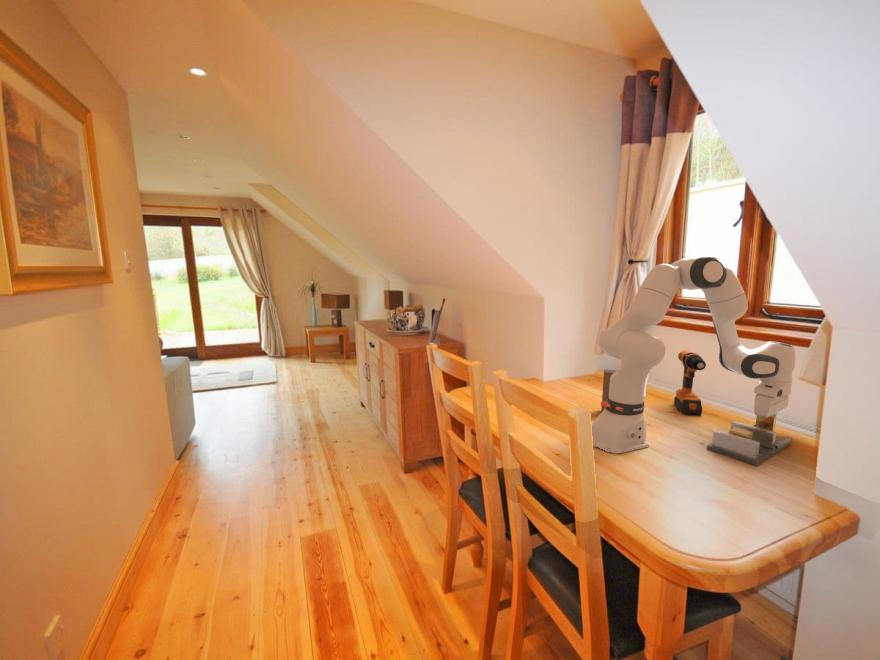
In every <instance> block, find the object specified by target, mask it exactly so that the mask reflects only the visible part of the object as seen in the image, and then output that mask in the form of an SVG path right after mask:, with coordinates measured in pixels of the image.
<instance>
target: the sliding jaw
mask: <svg viewBox="0 0 880 660" xmlns="http://www.w3.org/2000/svg"><path fill="white" fill-rule="evenodd" d="M776 423H777V416H776V417H773V416H769V417H768V418H763V417H759V416H756V420H755V424H754V425H751V424H748V423H744V422H740V421H737V420H733V421H731V422H730V429H732V428H734V427H737V428H740V429H744V430H747V431H751V432H753V436H752V440H753V441H757V442H760V445H761V446H764V447H768V448H771V449H772V448H773V447H774V446H775V439H776V436H777V432H776Z"/></svg>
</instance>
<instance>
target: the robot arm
mask: <svg viewBox="0 0 880 660" xmlns="http://www.w3.org/2000/svg"><path fill="white" fill-rule="evenodd" d="M678 290H688V291H690V290H691V291H693V290H701V291H702V292H703V294H704V297H705V300H706V303H707V305H708V308H709V312H710V314H711V318H712V323H713V327H714V332H715V334H716V337H717V342H718V345H719V355H718V360H719V363H720V365H721V367H722V368H723V369H725V370H726V371H730V372H734V373H736V374H738V375H740V376H743V377H745V378H748V379H752V380H753V379H756V380H757V379H758V383H757V385H756V386H755V387H754V390H753V393H754V394H755V398H754V402H753V403H754V405H753V407H754V408H753V412H754V413H753V414H754V415H755V416H756V417H757V416H759V417H763V418H768V417H769V416H773V417H776V418H777V416H778V413H779V412H781V411H783V410H785V409H787V408H788V405H789V397H790V395H791V393H792V387H793V386H792V385H793V371H794V370H795V366H796V365H795V364H796V349H795V348H794V346H792V345H791V344H787V343H784V342H779V341H774V340H769V341H767V342H766V343H765V344H763V345H761V346H759V347H755V348H753V349H750V348H747V347H745V345H743V344H742V343H741V342H740V339H739V336H738V335H739V334H738V331H737V328H736V321H737V320H739V319H740V318H742V317H743V316H744V315H745V314H746V313H747V311H748V309H749V307H748V305H749V304H748V299H747V296H746V292H745V290H744V288H743V285H742V283H741V282H740V279H739V278H738V276H737V275H736V273H735V272H734V270H733V269H732V268H731V267H730V266H727V265H724V263H723V262H722V261H721V260H720V259H719V258H717V257H714V256H711V255H709V256H708V255H704V256H703V255H702V256H690V257H685V258H681V259H676V260H673V261H671V262H669V263H660V264H657V265H654V266H653V267H652V269H651V270H650V271H649V272H648V274H647V275H646V277H645V278H644V280H642V283H641V285H640V287H639V288H638V290H637V292H636V294H635V296H634V297H633V299H632V302H631V303H630V306H629V307H628V308H627V310H626V311H625V312H624V314H623V315H622V316H621V317H619V319H618V320H617V321H616V322H615V323H613V324H612V325H610V326H609V327H607V328H605V329H604V330H602V331H601V333H600V335H599V336H598V345H599V348H600V349H601V351H603V352H604V353H606V354H607V355H608V356H611V357H612V358H616V359H619V360H620V362H621V363H620V366H619V369H618V370H617V371H616V372H615V373H613V374H612V375H611V377H610V386H609V396H608V398H607V400H606V402H605V401H602V400H601V402H600V406H601V408H602V407H605V409H604V410H603V412H602V413H600V414H599V415H598V416H597V418H596V419H595V420H594V421H593V422H592V424H591V426H592V436H593V446H592V447H593V448H596V447H595V446H597V447H599V448H600V449H599V450H601V449H603V450H602V451H604V450H605V452H607V453H610V452H611V454H616V455H617V454H618V453H619V454H623V453H627V452H631V451H636V450H640V449H641V450H642V449H644V448H645V449H646V448H648V447H650V443H649V441H647V421H646V419H645V417H644V414H643V413H644V411H645V401H644V397H643V396H644V387H645V381H646V378H647V375H648V373H649V374H650V372H651V370H652V369H653V368H654V367H655V366H657V365H659V364H660V363H661V362H662V361H663V359H664V358H665V354H666V345H665V342H663V341H662V339H660V338H659V337H656V336H654V335H653V334H651V333H649V332H647V331H648V330H649V329H651V328H652V327H654V326H657V325H659V324H661V322H662V321H663V319H664V318H665V316H666V314H667V312H668V310H669V308H670V306H671V304H672V303H673V300H674V298H675V295H676V294H677V291H678Z"/></svg>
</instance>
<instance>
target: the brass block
mask: <svg viewBox="0 0 880 660" xmlns="http://www.w3.org/2000/svg"><path fill="white" fill-rule="evenodd" d="M729 431H730V434H734V435H737V436H740V437H744V438H747V439H750V440H752V436H753V432H751V431H747V430H744V429H740V428H737V427H734V428H732V429H731V428H729Z"/></svg>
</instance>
